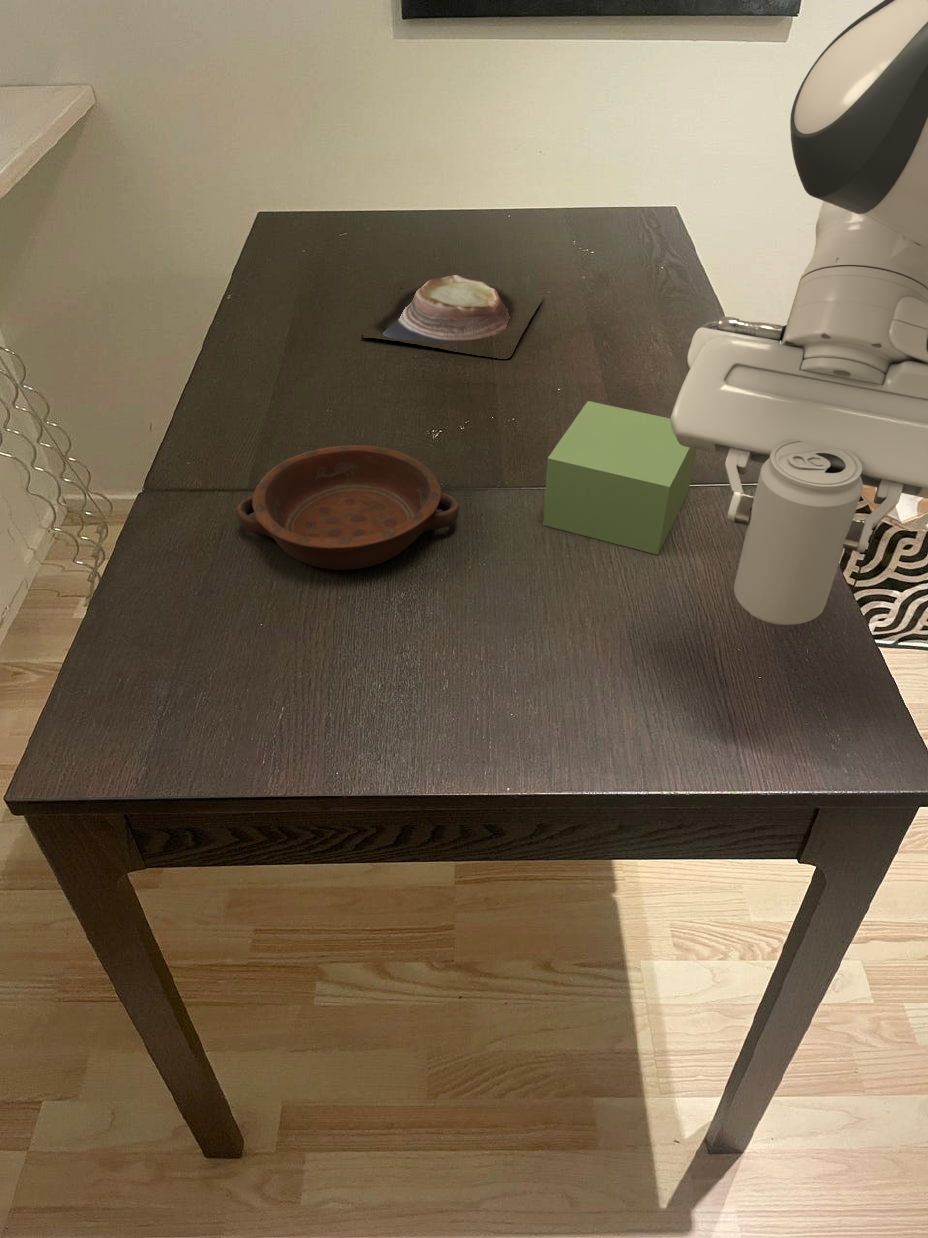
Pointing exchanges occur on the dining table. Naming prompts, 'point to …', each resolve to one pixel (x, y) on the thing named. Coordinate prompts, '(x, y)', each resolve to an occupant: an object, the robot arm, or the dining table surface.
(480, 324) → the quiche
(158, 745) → the dining table surface
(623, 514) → the green block
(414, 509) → the dish
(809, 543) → the beverage can
